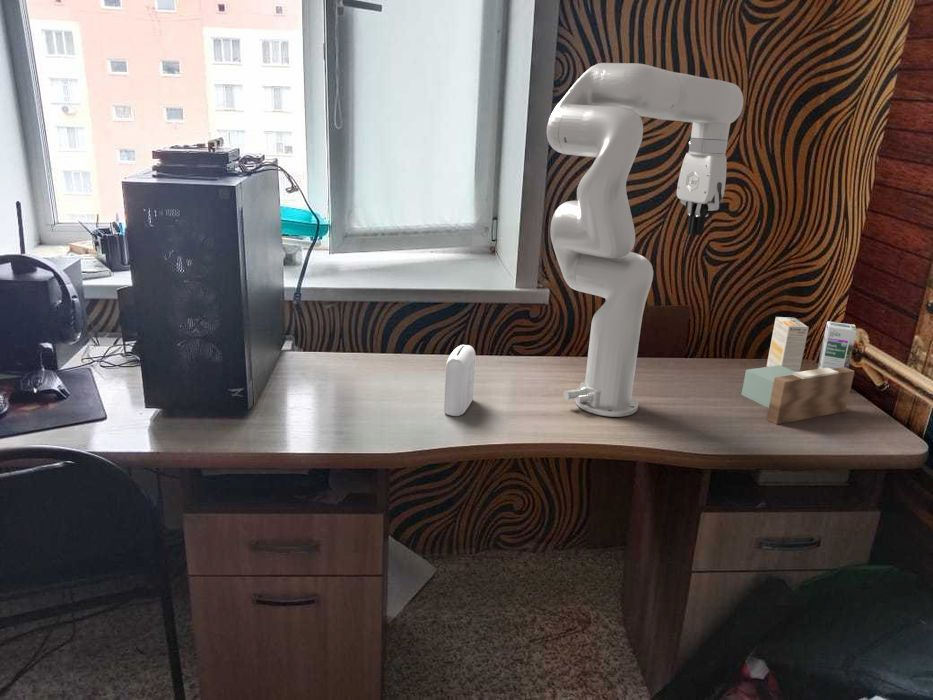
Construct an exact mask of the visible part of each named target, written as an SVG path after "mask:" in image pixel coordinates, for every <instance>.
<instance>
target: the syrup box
mask: <svg viewBox="0 0 933 700" xmlns="http://www.w3.org/2000/svg"><path fill="white" fill-rule="evenodd" d="M856 336H857V327H856V325H855V324H852V323H851V324H850V323H844V322H843V323H842V322H838V321H837V322H835V321H831V320H830V321H829V320H828V321H827V322H826V324H825V329H824V333H823V339H822V345H821V350H820V353H819V360H818V364H817V367H816V369H821V368H830V369H834V368H841V367H846V368H848V369H850V363H851V359H852V354H853V350H854V345H855V341H856Z"/></svg>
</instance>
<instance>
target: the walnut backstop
mask: <svg viewBox="0 0 933 700" xmlns="http://www.w3.org/2000/svg"><path fill="white" fill-rule="evenodd" d="M854 376H855V370H853V369H851V368H846V367H841V368H834V369H830V368H821V369H817V368H816V369H809V370H804V371H802V370H800V372H795V373H793V375H788V376H781V377H775V379H774V384H773V389H772V394H771V399H770V404H769V408H768V410H767V413H766V414H767V415H766V421H768V422H771V423H773V424H775V425H781V424H787V423H791V422H796V421H802V420H806V419H807V420H808V419H813V418H818V417H821V416H829V415H834V414H838V413H844V412H846V410H847V407H848V402H849V397H850V392H851V388H852V385H853V380H854Z"/></svg>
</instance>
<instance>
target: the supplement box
mask: <svg viewBox="0 0 933 700" xmlns="http://www.w3.org/2000/svg"><path fill="white" fill-rule="evenodd" d="M809 328H810V327H809V326H807V325H806V324H805V323H803V322H801V321H800V320H799V319H797V318H796V317H788V316H787V317H783V316H775V319H774V325H773V330H772V335H771V339H770V340H771V341H770V347H769V351H768V357H767V360H766V361H767V362H766V366H765V367H770V366H778V365H781V366H783V367H785V368H788V369H790V370H792V371H795V372H801V367H802V361H803V357H804V353H805V347H806V344H807V337H808V331H809V330H810V329H809Z"/></svg>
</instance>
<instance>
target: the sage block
mask: <svg viewBox="0 0 933 700" xmlns="http://www.w3.org/2000/svg"><path fill="white" fill-rule="evenodd" d="M793 373H795V371H792V370H790V369H788V368H785V367H783V366H781V365H778V366H770V367H766V366H764V367H757V368H749V369H746V370H745V375H744V377H743V378H744V379H743V384H742V388H741V389H742V390H741V396H744V397H745V398H747V399H749V400H751V401H754V402H756V403H757V404H759V405H761V406H763V407H766V408H768V409H769V404H770V399H771V394H772V389H773V384H774V379H775V377H781V376H788V375H793Z"/></svg>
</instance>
